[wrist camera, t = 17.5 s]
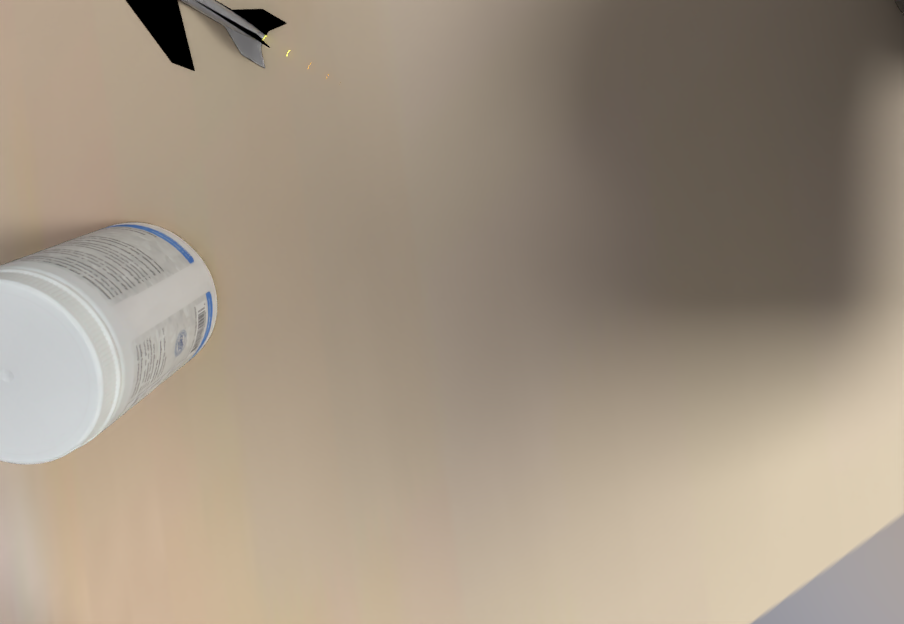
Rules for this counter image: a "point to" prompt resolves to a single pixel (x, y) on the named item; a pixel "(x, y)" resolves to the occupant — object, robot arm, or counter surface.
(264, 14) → the toy airplane
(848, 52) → the counter surface
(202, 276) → the supplement tub
